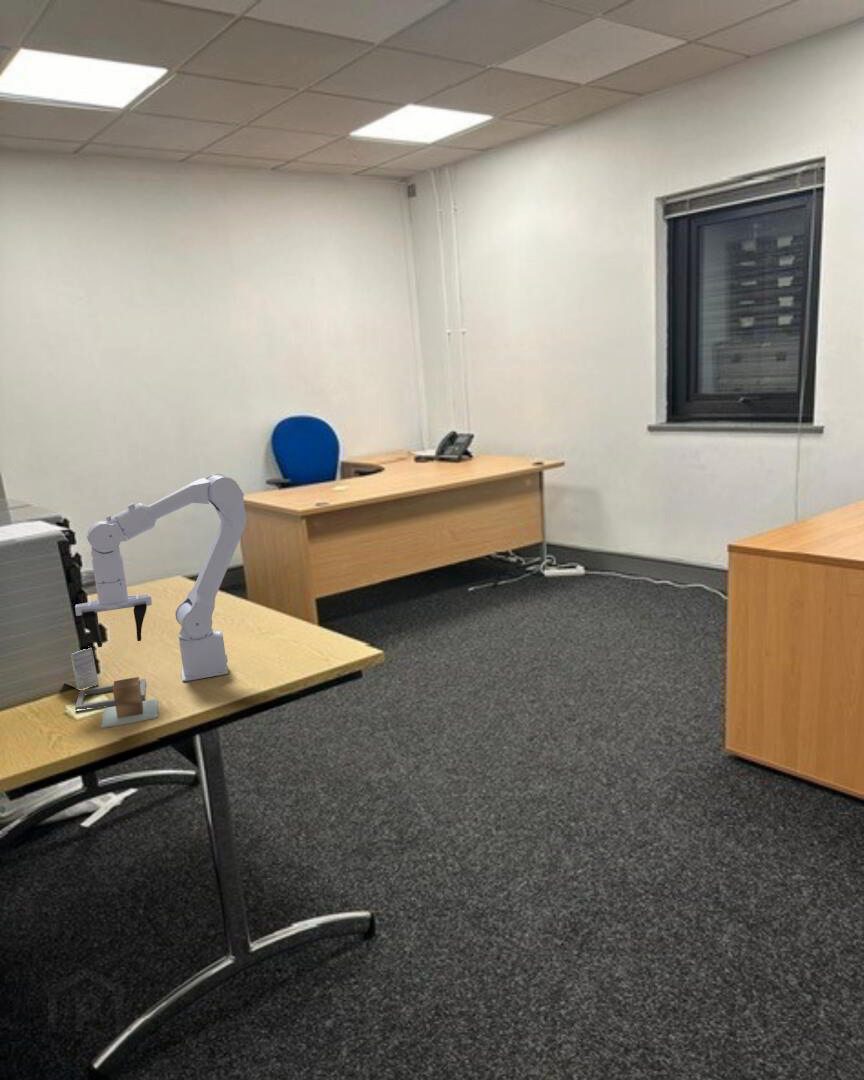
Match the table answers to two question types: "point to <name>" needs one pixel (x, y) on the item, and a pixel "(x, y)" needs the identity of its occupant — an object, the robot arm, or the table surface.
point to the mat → (148, 713)
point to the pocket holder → (100, 690)
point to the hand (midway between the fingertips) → (120, 642)
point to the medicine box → (84, 668)
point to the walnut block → (128, 697)
